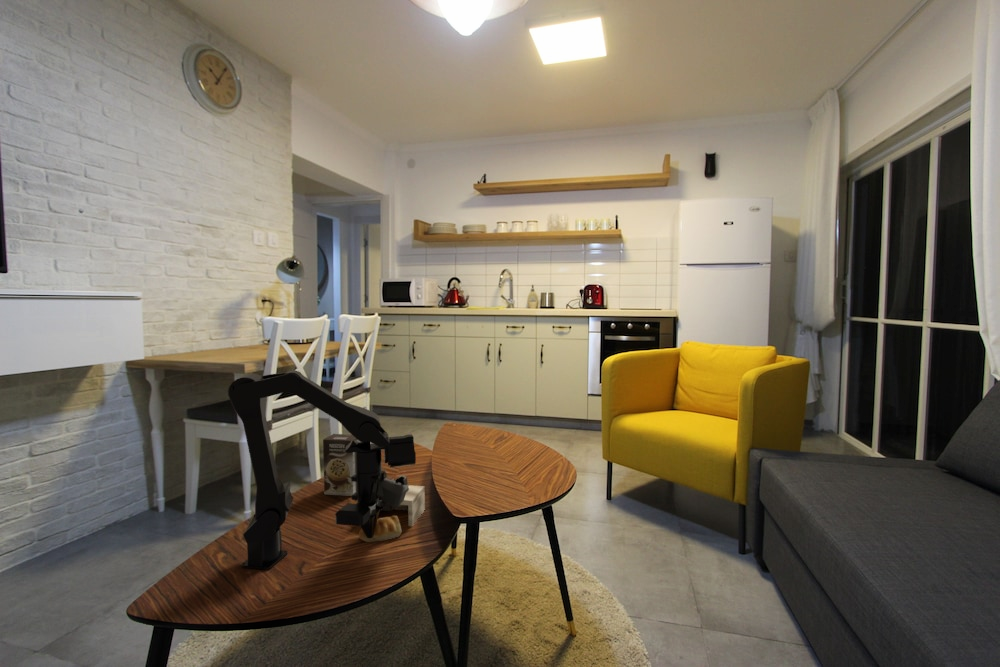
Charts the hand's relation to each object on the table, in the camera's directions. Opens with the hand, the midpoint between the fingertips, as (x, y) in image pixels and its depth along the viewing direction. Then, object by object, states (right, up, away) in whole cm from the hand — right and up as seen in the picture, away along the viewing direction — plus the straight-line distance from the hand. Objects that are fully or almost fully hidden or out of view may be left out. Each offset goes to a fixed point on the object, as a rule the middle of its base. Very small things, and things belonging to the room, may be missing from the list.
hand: (370, 537), depth 101 cm
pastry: (+2, -2, +4) cm, 5 cm away
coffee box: (-16, 0, +30) cm, 34 cm away
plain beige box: (+2, -1, +14) cm, 14 cm away
